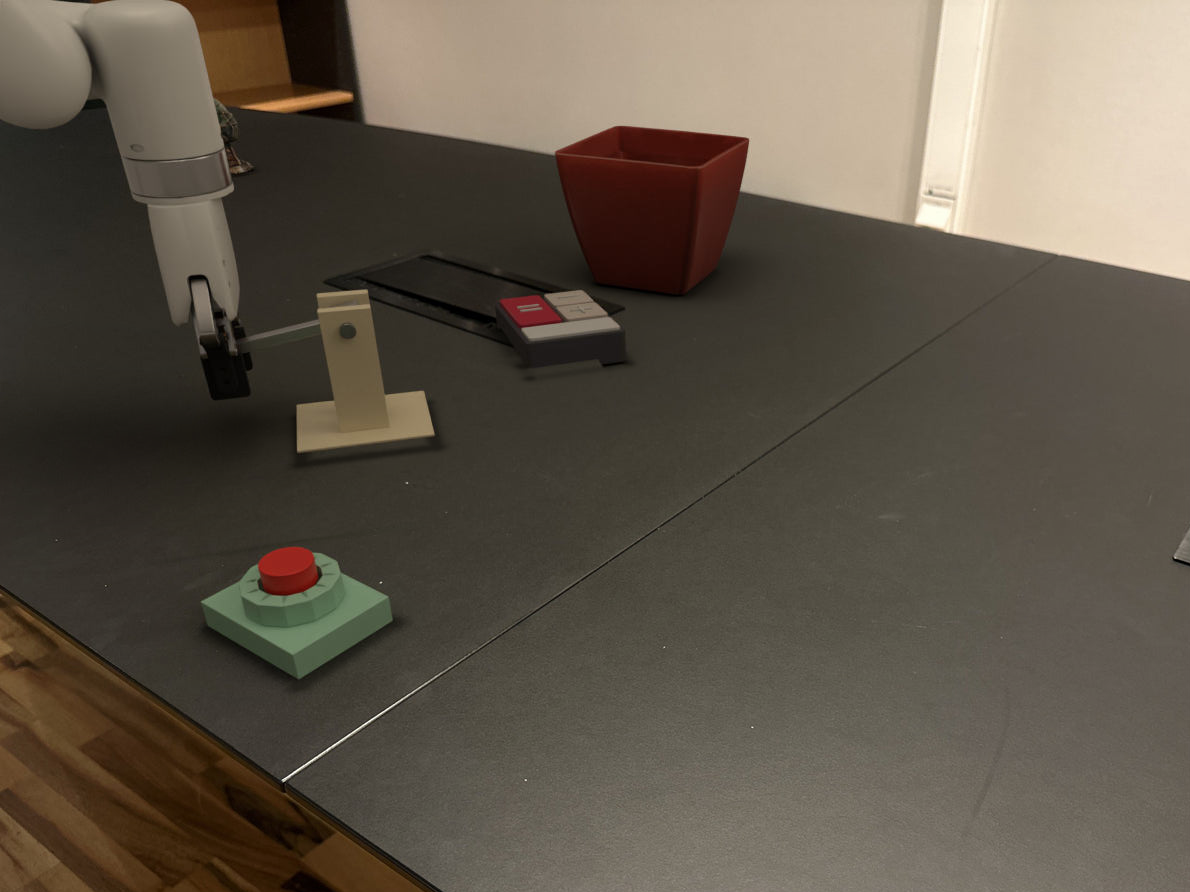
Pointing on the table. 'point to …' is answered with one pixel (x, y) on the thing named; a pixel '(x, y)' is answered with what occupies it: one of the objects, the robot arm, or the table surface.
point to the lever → (283, 334)
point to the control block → (298, 617)
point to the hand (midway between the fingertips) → (233, 381)
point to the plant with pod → (230, 138)
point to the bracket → (356, 386)
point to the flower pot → (652, 203)
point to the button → (288, 571)
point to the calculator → (560, 329)
